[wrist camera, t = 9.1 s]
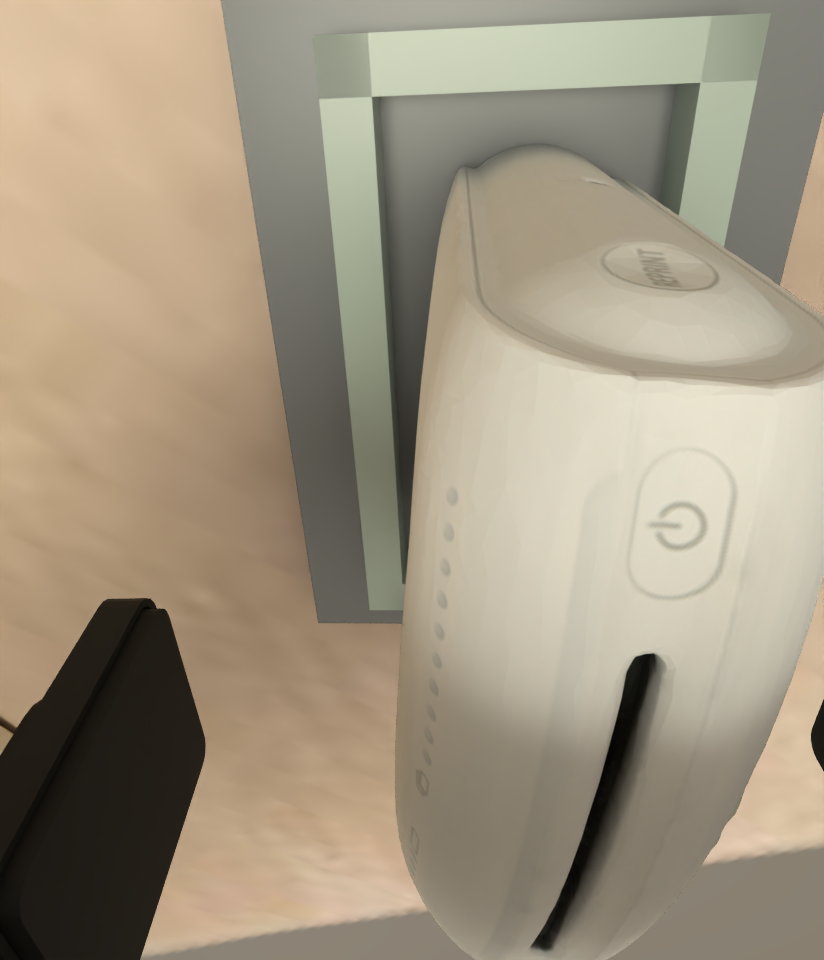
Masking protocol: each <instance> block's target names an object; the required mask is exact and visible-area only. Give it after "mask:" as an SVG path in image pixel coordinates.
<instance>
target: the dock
mask: <svg viewBox="0 0 824 960" xmlns="http://www.w3.org/2000/svg"><path fill="white" fill-rule="evenodd" d="M221 4H222V10H223V17H224V23H225V30H226V36H227V42H228V49H229V55H230V61H231V68H232V74H233V81H234V87H235V93H236V100H237V106H238V113H239V119H240V125H241V132H242V138H243V145H244V151H245V157H246V164H247V170H248V177H249V183H250V189H251V196H252V202H253V209H254V215H255V221H256V228H257V234H258V241H259V247H260V253H261V260H262V266H263V272H264V279H265V285H266V292H267V298H268V304H269V311H270V317H271V324H272V330H273V336H274V343H275V349H276V356H277V362H278V368H279V375H280V381H281V388H282V394H283V400H284V407H285V413H286V420H287V426H288V432H289V439H290V445H291V452H292V458H293V464H294V471H295V477H296V483H297V490H298V496H299V503H300V509H301V515H302V522H303V528H304V535H305V541H306V547H307V554H308V560H309V567H310V573H311V579H312V586H313V592H314V599H315V605H316V611H317V618H318V623H399V624H402V622H403V610H404V598H405V586H406V574H407V562H408V549H409V537H410V522H411V506H412V490H413V476H414V463H415V450H416V435H417V423H418V411H419V400H420V389H421V379H422V370H423V362H424V353H425V344H426V335H427V327H428V318H429V310H430V301H431V294H432V286H433V278H434V270H435V263H436V256H437V249H438V243H439V237H440V231H441V225H442V220H443V216H444V212H445V208H446V204H447V200H448V197H449V194H450V191H451V187H452V184H453V181H454V178H455V175H456V173H457V171H458V170H459V169H460V168H461V167H463V166H464V167H469V168H473V169H475V168H478V167H479V166H480V165H481V164H483V163H484V162H485V161H486V160H488V159H489V158H491V157H493V156H495V155H497V154H499V153H501V152H503V151H505V150H508V149H511V148H515V147H520V146H525V145H531V144H543V145H552V146H557V147H561V148H564V149H567V150H570V151H572V152H574V153H576V154H578V155H579V156H581V157H583V158H584V159H586V160H588V161H589V162H590V163H592V164H593V165H594V166H596V167H597V168H599V169H600V170H601V171H603V172H604V173H605V174H607V175H608V176H609V177H611V178H612V179H624V180H627V181H629V182H631V183H633V184H634V185H636V186H637V187H639V188H640V189H641V190H643V191H644V192H646V193H647V194H648V195H649V196H651V197H652V198H654V199H655V200H656V201H658V202H659V203H661V204H662V205H663V206H665V207H666V208H668V209H670V210H671V211H672V212H673V213H675V214H677V215H679V216H680V217H681V218H682V219H684V220H685V221H687V222H688V223H690V224H691V225H693V226H694V227H695V228H697V229H698V230H700V231H701V232H703V233H704V234H705V235H707V236H708V237H710V238H711V239H712V240H714V241H715V242H717V243H718V244H720V245H722V246H723V247H724V248H725V249H726V250H728V251H730V252H731V253H733V254H734V255H736V256H738V257H739V258H741V259H742V260H743V261H745V262H746V263H748V264H749V265H751V266H752V267H754V268H755V269H756V270H758V271H759V272H761V273H762V274H764V275H765V276H767V277H768V278H770V279H771V280H772V281H773V282H774V283H776V284H777V285H779V286H780V282H781V278H782V274H783V270H784V266H785V262H786V258H787V254H788V250H789V246H790V242H791V238H792V234H793V230H794V226H795V222H796V218H797V214H798V210H799V206H800V202H801V198H802V195H803V191H804V187H805V183H806V179H807V175H808V171H809V167H810V163H811V159H812V155H813V151H814V147H815V143H816V139H817V135H818V131H819V127H820V123H821V119H822V115H823V111H824V0H221Z"/></svg>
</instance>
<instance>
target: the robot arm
mask: <svg viewBox="0 0 824 960" xmlns="http://www.w3.org/2000/svg"><path fill="white" fill-rule="evenodd" d="M811 742H812V748H813V751H814V754H815V756H816V758H817V760H818V762H819V764H820V766H821V767H822V769H823V771H824V700H823V703H822V705H821V708H820V710H819V713H818V715H817V718H816V720H815V723H814V725H813V728H812V732H811ZM204 757H205V737H204V733H203V729H202V726H201V723H200V719H199V716H198V713H197V709H196V706H195V702H194V699H193V696H192V692H191V689H190V686H189V682H188V679H187V675H186V672H185V669H184V665H183V662H182V659H181V655H180V652H179V648H178V645H177V642H176V638H175V635H174V632H173V628H172V625H171V621H170V618H169V615H168V613H167V611H166V610H165V609H157V608H156V606H155V604H154V602H153V601H152V600H151V599H148V598H135V599H107V600H105V601H103V602H102V604H101V605H100V606H99V608H98V609H97V611H96V612H95V614H94V616H93V617H92V619H91V621H90V622H89V624H88V625H87V627H86V629H85V630H84V632H83V634H82V635H81V637H80V638H79V640H78V642H77V643H76V645H75V647H74V648H73V650H72V652H71V653H70V655H69V656H68V658H67V660H66V661H65V663H64V665H63V666H62V668H61V669H60V671H59V673H58V674H57V676H56V678H55V679H54V681H53V683H52V684H51V686H50V687H49V689H48V691H47V692H46V694H45V696H44V697H43V699H42V700H40V701H39V702H37V703H36V704H34V705H33V706H32V708H31V709H30V710H29V711H28V713H27V714H26V715H25V716H24V718H23V720H22V721H21V723H20V724H19V726H18V728H17V729H16V731H15V732H14V734H13V733H12V732H10V731H9V730H7V729H6V728H4V727H3V726H1V725H0V960H140V958H141V955H142V952H143V949H144V946H145V942H146V939H147V936H148V933H149V930H150V927H151V924H152V921H153V918H154V915H155V911H156V908H157V905H158V902H159V899H160V896H161V893H162V890H163V887H164V884H165V880H166V877H167V874H168V871H169V868H170V865H171V862H172V859H173V856H174V853H175V849H176V846H177V843H178V840H179V837H180V834H181V831H182V828H183V825H184V822H185V818H186V815H187V812H188V809H189V806H190V803H191V800H192V797H193V794H194V791H195V787H196V784H197V781H198V778H199V775H200V772H201V769H202V766H203V762H204Z"/></svg>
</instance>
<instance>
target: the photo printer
mask: <svg viewBox="0 0 824 960" xmlns="http://www.w3.org/2000/svg"><path fill="white" fill-rule="evenodd" d="M823 577H824V316H823V315H822V314H821V313H819V312H818V311H817V310H815V309H814V308H812V307H810V306H809V305H807V304H806V303H804V302H802V301H801V300H799V299H798V298H797V297H796V296H794V295H793V294H792V293H790V292H789V291H787V290H786V289H784V288H782V287H781V286H779V285H777V284H776V283H774V282H773V281H772V280H771V279H770V278H768V277H767V276H765V275H764V274H762V273H761V272H759V271H758V270H756V269H755V268H754V267H752V266H751V265H749V264H748V263H746V262H745V261H743V260H742V259H741V258H739V257H738V256H736V255H734V254H733V253H731V252H730V251H728V250H726V249H725V248H724V247H723V246H722V245H720V244H718V243H717V242H715V241H714V240H712V239H711V238H710V237H708V236H707V235H705V234H704V233H703V232H701V231H700V230H698V229H697V228H695V227H694V226H693V225H691V224H690V223H688V222H687V221H685V220H684V219H682V218H681V217H680V216H679V215H677V214H675V213H673V212H672V211H671V210H670V209H668V208H666V207H665V206H663V205H662V204H661V203H659V202H658V201H656V200H655V199H654V198H652V197H651V196H649V195H648V194H647V193H646V192H644V191H643V190H641V189H640V188H639V187H637V186H636V185H634V184H633V183H631V182H629V181H627V180H624V179H612V178H611V177H609V176H608V175H607V174H605V173H604V172H603V171H601V170H600V169H599V168H597V167H596V166H594V165H593V164H592V163H590V162H589V161H588V160H586V159H584V158H583V157H581V156H579V155H578V154H576V153H574V152H572V151H570V150H567V149H564V148H561V147H557V146H552V145H543V144H531V145H525V146H520V147H515V148H511V149H508V150H505V151H503V152H501V153H499V154H497V155H495V156H493V157H491V158H489V159H488V160H486V161H485V162H484V163H483V164H481V165H480V166H479V167H478V168H475V169H473V168H469V167H464V166H463V167H461V168H460V169H459V170H458V171H457V173H456V175H455V178H454V181H453V184H452V187H451V191H450V194H449V197H448V200H447V204H446V208H445V212H444V216H443V220H442V225H441V231H440V237H439V243H438V249H437V256H436V263H435V270H434V278H433V286H432V294H431V301H430V310H429V318H428V327H427V335H426V344H425V353H424V362H423V370H422V379H421V389H420V400H419V411H418V423H417V435H416V450H415V463H414V476H413V490H412V506H411V522H410V537H409V549H408V562H407V574H406V586H405V598H404V610H403V622H402V635H401V648H400V663H399V682H398V701H397V721H396V741H395V800H396V817H397V824H398V831H399V838H400V842H401V847H402V851H403V854H404V858H405V861H406V864H407V867H408V870H409V872H410V875H411V877H412V879H413V882H414V884H415V886H416V888H417V890H418V892H419V894H420V896H421V898H422V900H423V902H424V904H425V905H426V907H427V908H428V910H429V911H430V913H431V914H432V916H433V917H434V919H435V920H436V921H437V923H438V924H439V926H440V927H441V928H442V929H443V931H444V932H445V933H446V934H447V935H448V936H449V937H450V938H451V939H452V940H453V941H454V943H456V944H457V945H458V946H459V947H460V948H461V949H462V950H464V951H465V952H466V953H468V954H469V955H470V956H472V957H473V958H474V959H476V960H606V959H608V958H610V957H612V956H614V955H615V954H617V953H618V952H620V951H621V950H623V949H624V948H626V947H627V946H629V945H630V944H631V943H632V942H633V941H635V940H636V939H637V938H638V937H639V936H641V935H642V934H643V933H644V932H645V931H646V930H647V929H648V928H649V927H651V926H652V924H654V923H655V922H656V921H657V920H658V919H659V918H660V917H661V915H662V914H663V913H664V912H665V911H666V910H667V909H668V908H669V907H670V905H671V904H672V903H673V902H674V901H675V900H676V899H677V898H678V896H679V895H680V894H681V893H682V891H683V890H684V889H685V887H686V886H687V885H688V883H689V882H690V881H691V880H692V878H693V877H694V875H695V874H696V872H697V871H698V869H699V868H700V866H701V865H702V863H703V862H704V860H705V859H706V857H707V855H708V854H709V852H710V851H711V850H712V848H713V847H714V846H715V845H716V844H717V842H718V840H719V838H720V835H721V832H722V830H723V828H724V826H725V825H726V823H727V822H728V821H729V820H730V819H731V818H732V817H733V816H734V815H735V813H736V811H737V809H738V807H739V804H740V802H741V799H742V796H743V793H744V790H745V787H746V786H747V784H748V781H749V779H750V777H751V775H752V772H753V770H754V768H755V766H756V764H757V762H758V760H759V758H760V756H761V754H762V752H763V750H764V748H765V745H766V743H767V741H768V738H769V736H770V733H771V731H772V728H773V726H774V723H775V721H776V718H777V716H778V713H779V711H780V708H781V705H782V703H783V700H784V698H785V695H786V693H787V690H788V688H789V685H790V683H791V680H792V677H793V674H794V671H795V668H796V665H797V662H798V659H799V656H800V653H801V650H802V647H803V644H804V641H805V638H806V635H807V632H808V629H809V626H810V623H811V620H812V616H813V613H814V609H815V606H816V602H817V599H818V595H819V592H820V588H821V584H822V581H823Z"/></svg>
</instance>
